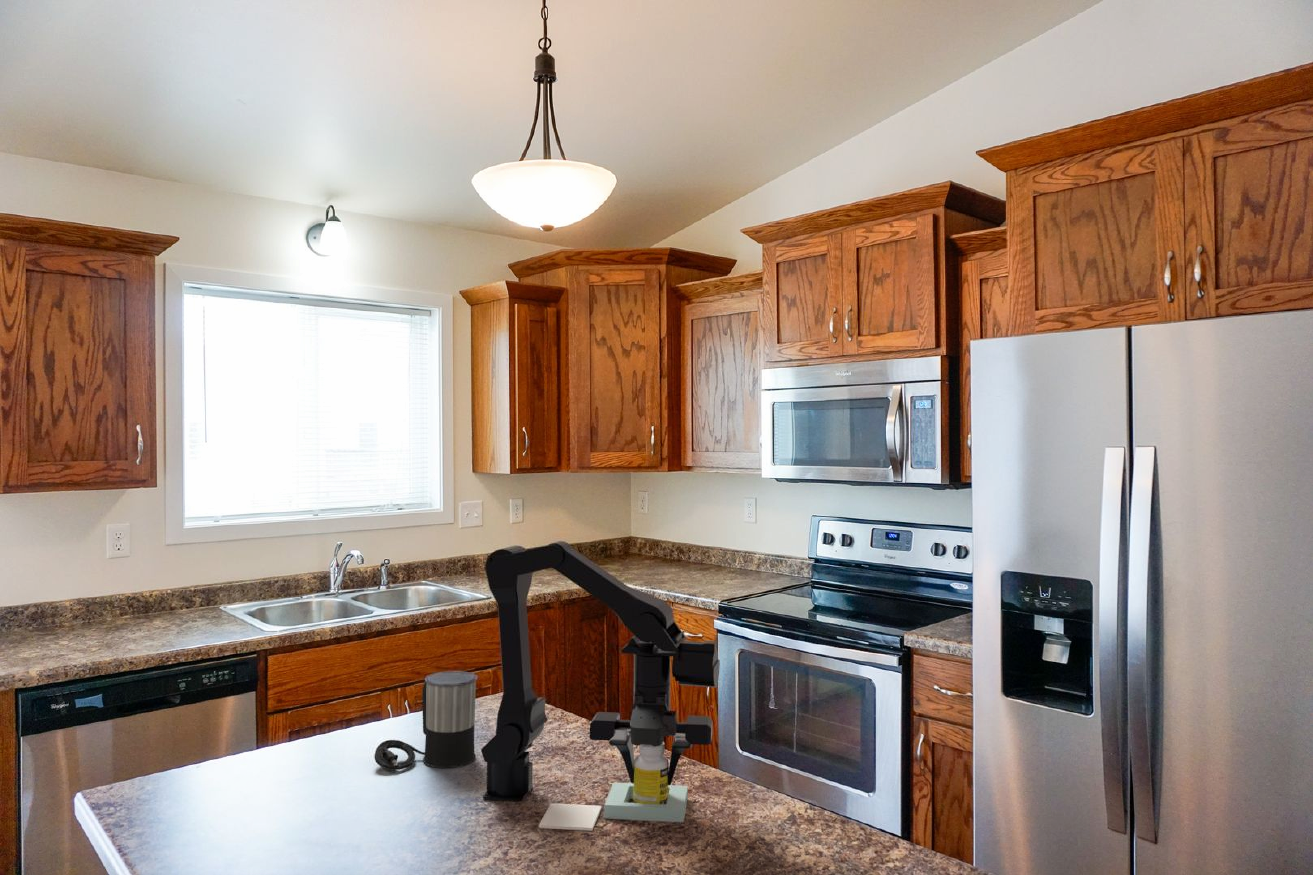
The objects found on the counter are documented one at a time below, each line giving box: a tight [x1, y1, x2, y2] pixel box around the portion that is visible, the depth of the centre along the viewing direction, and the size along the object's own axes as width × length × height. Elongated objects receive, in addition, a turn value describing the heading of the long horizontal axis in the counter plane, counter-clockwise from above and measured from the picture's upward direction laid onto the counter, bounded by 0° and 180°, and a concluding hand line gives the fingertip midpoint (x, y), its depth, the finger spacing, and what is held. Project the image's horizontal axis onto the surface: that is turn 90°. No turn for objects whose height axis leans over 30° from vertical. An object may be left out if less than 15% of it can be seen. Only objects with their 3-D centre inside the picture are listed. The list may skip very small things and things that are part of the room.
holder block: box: [603, 781, 689, 823], centre depth 133 cm, size 12×9×2 cm
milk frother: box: [374, 670, 478, 771], centre depth 152 cm, size 14×16×15 cm
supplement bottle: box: [632, 741, 670, 805], centre depth 133 cm, size 5×5×10 cm
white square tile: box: [538, 803, 603, 832], centre depth 129 cm, size 8×8×1 cm
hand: (651, 783), depth 133 cm, fingers closed on supplement bottle, 5 cm apart
